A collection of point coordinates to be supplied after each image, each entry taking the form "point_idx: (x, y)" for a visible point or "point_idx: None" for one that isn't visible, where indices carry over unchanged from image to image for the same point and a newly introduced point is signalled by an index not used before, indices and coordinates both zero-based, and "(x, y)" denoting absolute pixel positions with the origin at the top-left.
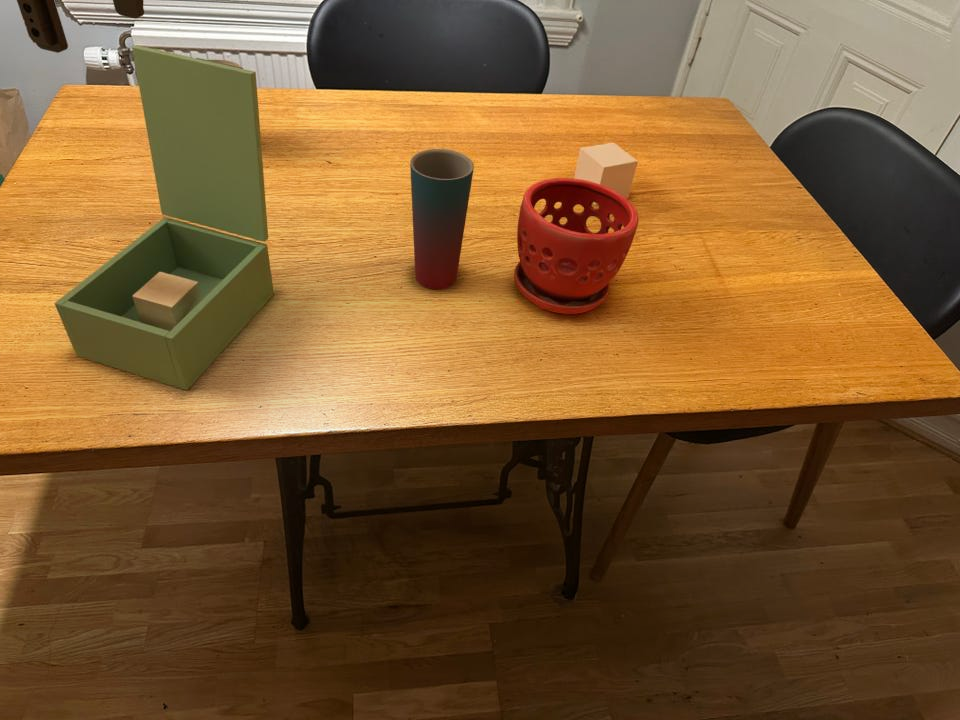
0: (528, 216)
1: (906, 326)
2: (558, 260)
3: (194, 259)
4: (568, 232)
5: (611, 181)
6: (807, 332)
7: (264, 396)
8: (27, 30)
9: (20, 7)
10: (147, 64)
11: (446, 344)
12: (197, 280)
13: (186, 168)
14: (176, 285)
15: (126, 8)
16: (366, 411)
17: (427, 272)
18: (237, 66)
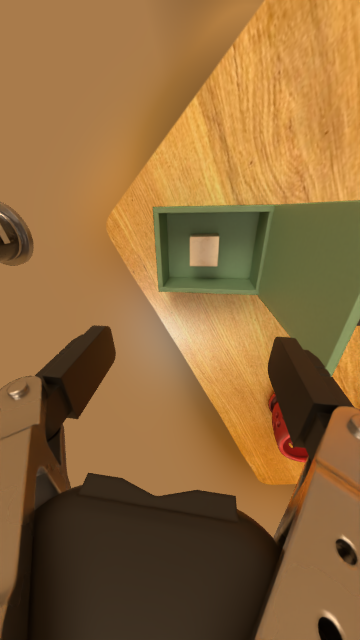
0: None
1: (293, 482)
2: (275, 426)
3: (259, 229)
4: (280, 443)
5: None
6: (282, 462)
7: (177, 311)
8: (67, 345)
9: (44, 369)
10: None
11: (236, 365)
12: (247, 234)
13: (288, 246)
14: (209, 256)
15: (274, 362)
16: (186, 349)
17: None
18: None
